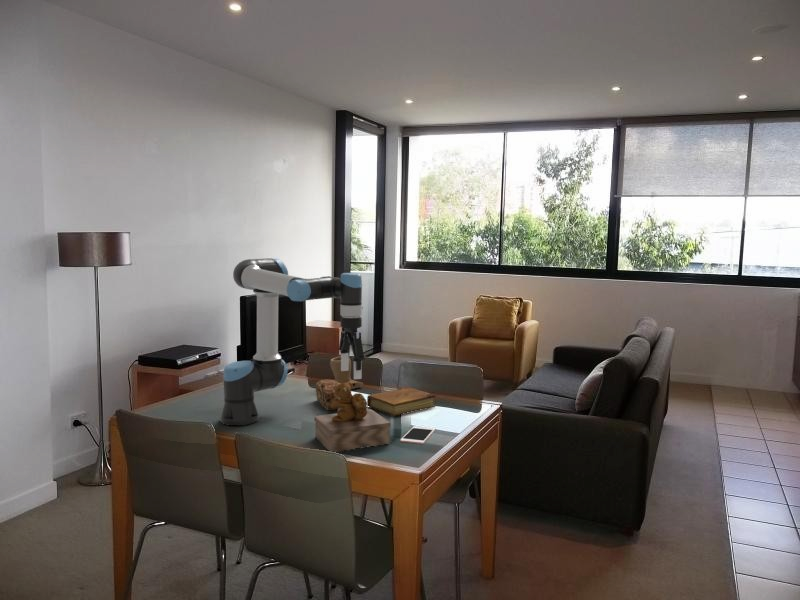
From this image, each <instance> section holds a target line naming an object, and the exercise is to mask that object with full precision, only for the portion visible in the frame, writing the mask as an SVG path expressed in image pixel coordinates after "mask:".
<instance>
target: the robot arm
mask: <svg viewBox="0 0 800 600" xmlns="http://www.w3.org/2000/svg"><path fill="white" fill-rule="evenodd" d="M233 269H234V270H233V272H232V273H233V276H232V278H233V280H234V282H235V284H236V285H237V286H238V287H240V288H242V289H245V290H251V291H253V292H252V293H254V294H255V296H256V353H255V354H254V355H253V356H252V361H251V360H239V361H233V362H231V363H229V364H227V365H226V366H225V367H224V368H223V376H222V379H223V397H224V398H223V399H224V400H223V405H222V410H221V411H220V412H221V413H220V417H219V418H220V419H219V421H221V422H222V423H224V424H228V425H243V426H248V425H247V424H249V425H252V424H251V423H253V424H255V423H257V422H259V420H260V413H259V410H258V407H257V405H256V402H255V393H257V392H261V391H266V390H269V389H270V390H273V389H275V388H277V387H280V386H282V385H283V384H284V383H285V382H286V379H287V377H288V367H287V365H286V364H287V363H286V362H285V360H284V359H282V355H281V354H280V353H279V296H280V295H281V296H285V297H288V298H289V299H290V301H293V302H304V301H314V300H323V299H339V300H340V305H339V307H340V308H339V310H340V311H339V312H340V313H339V315H340V316H341V317H340V328H341V334H340V338H339V339H340V340H339V344H338V350H339V351H340V356H341V371H349V358H350V356H349V354H350V350H349V349H350V346H351V349H352V354H353V360H352V362H353V380H361V379H362V377H363V376H362V375H363V373H362V371H363V370H362V365H363V363H362V361H364V360H365V354H364V349H363V342H362V331H361V332H360V331H359V332H358V329H359V328H362V326H363V325H362V321H363V319H362V317H361V316H362V310H363V308H364V307H363V305H362V304H363V302H362V300H363V299H362V298H363V297H362V295H363V294H362V293H363V291H362V290H363V282H362V281H363V280H362V275H361V274H360V273H359V272H343V273H341V274H340V277H335V276H321V277H316V278H315V277H314V278H303V277H299V276H294V275H290V274H289V270H288V268H287V266H286V264H285V263H284V261H282V260H280V259H279V258H272V257H270V258H253V259H251V258H249V259H244V260H241V261H239V263H237V265H236V266H235V267H234V268H233ZM256 421H257V422H256ZM221 422H220V423H221ZM254 422H255V423H254ZM222 423H221V424H222ZM224 424H223V425H224ZM228 425H227V426H228Z"/></svg>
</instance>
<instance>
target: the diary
mask: <svg viewBox="0 0 800 600" xmlns="http://www.w3.org/2000/svg"><path fill="white" fill-rule="evenodd" d="M366 398H367V399H366V402H367V406H366V407H368V406H369V407H368V408H370V407H371V409H373V408H374V410H376V409H377V410H376V411H378V410H380V411H379V412H381V411H382V413H384V412H385V413H384V414H387V413H388V415H389V416H392V415H393V416H392V417H397V416H401V415H400V414H402V415H404V414H403V413H406V414H408V413H407V412H410V413H412V412H411V411H414V412H416V411H415V410H419V411H421V410H420V409H423V410H426V409H425V408H427V409H431V408H435V407H436V405H434V398H436V394H434V393H429V392H428V391H427V392H426V391H422V390H419V389H416V388H413V387H408V386H407V387H403V388H398V389H393V390H392V389H391V390H388V391H382V392H379V393H374V394H369V395H367V396H366ZM430 407H431V408H430ZM396 415H397V416H396Z"/></svg>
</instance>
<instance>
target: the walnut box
mask: <svg viewBox="0 0 800 600" xmlns="http://www.w3.org/2000/svg"><path fill="white" fill-rule="evenodd" d="M366 411H367V414H366V416H365V417H364V418H362V419H361V420H354V419H352V420H350V421H345V422H339V421H333V420H332V418H333V417H334V416H338V415H337V412H336V413H330V414H321V415H314V417H313V419H314V422H315V424H314V425H315V438H316V439H317V440H318V441H319V442H320V443H321V445H322V446H323V447H324V448H325V449H326V450H327V451H328V450H330V451H334V452H333V453H339V452H345V451H344V450H347V451H350V450H349V449H353V450H356V449H355V448H360V449H362V448H361V447H367V446H374V447H376V446H375V445H381V446H385V445H384V444H388V445H390V428H391V422H390V421H388V420H387V418H385V417H383V416H382V415H380V414H379V413H377V412H376V411H375V410H373V408H371V409H370V408H369V409H366ZM367 448H368V447H367Z"/></svg>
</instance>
